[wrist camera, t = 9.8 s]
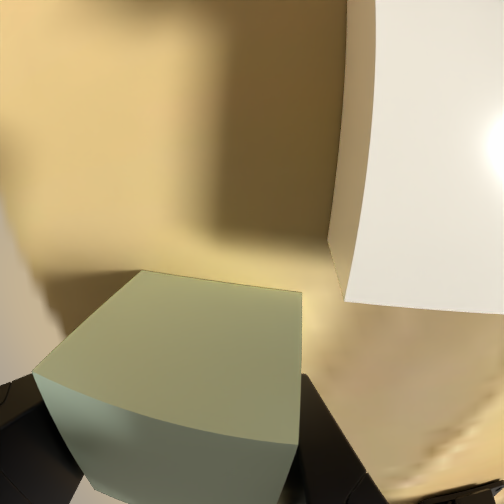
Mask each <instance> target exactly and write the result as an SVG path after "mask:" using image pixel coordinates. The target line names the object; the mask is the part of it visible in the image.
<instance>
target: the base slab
mask: <svg viewBox="0 0 504 504" xmlns="http://www.w3.org/2000/svg"><path fill="white" fill-rule="evenodd" d="M327 241H328V245H329V248H330V252H331V255H332V259H333V262H334V266H335V269H336V273H337V277H338V280H339V284H340V288H341V292H342V296H343V299H344V301H345V302H355V303H365V304H375V305H385V306H396V307H407V308H419V309H431V310H444V311H458V312H473V313H490V314H504V0H347V37H346V63H345V81H344V96H343V109H342V122H341V133H340V143H339V153H338V162H337V171H336V179H335V188H334V195H333V203H332V210H331V218H330V225H329V231H328V238H327Z"/></svg>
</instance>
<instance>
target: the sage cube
mask: <svg viewBox="0 0 504 504" xmlns="http://www.w3.org/2000/svg"><path fill="white" fill-rule="evenodd" d="M301 360H302V293H301V292H293V291H285V290H277V289H269V288H261V287H254V286H246V285H239V284H231V283H224V282H217V281H210V280H203V279H196V278H189V277H183V276H176V275H170V274H163V273H157V272H151V271H144V270H142V271H140V272H139V273H138V274H137V275H136V276H135V277H133V278H132V279H131V280H130V281H129V282H128V283H126V284H125V285H124V286H123V287H122V288H121V289H120V290H118V291H117V292H116V293H115V294H114V295H113V296H112V297H110V298H109V299H108V300H107V301H106V302H105V303H104V304H103V305H101V306H100V307H99V308H98V309H97V310H96V311H95V312H94V313H93V314H91V315H90V316H89V317H88V318H87V319H86V320H85V321H84V322H83V323H82V324H80V325H79V326H78V327H77V328H76V329H75V330H74V331H73V332H72V333H71V334H70V335H69V336H68V337H66V338H65V339H64V340H63V341H62V342H61V343H60V344H59V345H58V346H57V347H56V348H55V349H54V350H53V351H52V352H51V353H50V354H49V355H48V356H46V357H45V358H44V359H43V360H42V361H41V362H40V363H39V364H38V365H37V366H36V367H35V368H34V369H33V370H32V374H33V376H34V379H35V381H36V383H37V386H38V388H39V390H40V393H41V395H42V397H43V399H44V402H45V404H46V406H47V408H48V410H49V412H50V414H51V416H52V418H53V420H54V422H55V424H56V426H57V428H58V430H59V432H60V434H61V436H62V438H63V439H64V441H65V443H66V445H67V447H68V448H69V450H70V452H71V454H72V455H73V457H74V459H75V460H76V462H77V464H78V465H79V467H80V468H81V470H82V471H83V473H84V475H85V476H86V478H87V479H88V481H89V482H90V484H91V485H92V487H93V488H94V490H97V491H99V492H101V493H103V494H106V495H108V496H110V497H113V498H115V499H118V500H121V501H123V502H125V503H128V504H277V502H278V499H279V497H280V494H281V491H282V489H283V486H284V483H285V481H286V478H287V475H288V473H289V470H290V467H291V464H292V461H293V459H294V456H295V453H296V450H297V447H298V440H299V420H300V396H301Z"/></svg>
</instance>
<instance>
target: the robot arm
mask: <svg viewBox="0 0 504 504" xmlns="http://www.w3.org/2000/svg"><path fill="white" fill-rule="evenodd" d="M83 476H84V473H83V471H82V470H81V468H80V467H79V465H78V464H77V462H76V460H75V459H74V457H73V455H72V454H71V452H70V450H69V448H68V447H67V445H66V443H65V441H64V439H63V438H62V436H61V434H60V432H59V430H58V428H57V426H56V424H55V422H54V420H53V418H52V416H51V414H50V412H49V410H48V408H47V406H46V404H45V402H44V399H43V397H42V395H41V393H40V390H39V388H38V386H37V383H36V381H35V379H34V376H33V374H29V375H26V376H24V377H22V378H19V379H17V380H14V381H12V383H11V382H9V383H6V384H3V385H1V386H0V504H69V503H70V501H71V499H72V497H73V495H74V493H75V491H76V489H77V487H78V485H79V483H80V481H81V480H82V477H83ZM503 488H504V480H501V481H498V482H495V483H492V484H488V485H485V486H482V487H478V488H474V489H471V490H467V491H463V492H459V493H454V494H450V495H445V496H440V497H435V498H430V499H426V500H424V501H422V502H420V503H419V504H496V503H495V500H494V496H495V495H496V494H497V493H498V492H499V491H500V490H502V489H503ZM277 504H389V503H388V502H387V500H386V499H385V498H384V496H383V495H382V493H381V492H380V490H379V489H378V487H377V486H376V485H375V483H374V481H373V480H372V478H371V477H370V475H369V473H366V469H365V467H364V466H363V464H362V463H361V461H360V459H359V458H358V456H357V455H356V453H355V451H354V450H353V448H352V447H351V445H350V443H349V442H348V440H347V439H346V437H345V435H344V434H343V432H342V431H341V429H340V427H339V426H338V424H337V423H336V421H335V419H334V418H333V416H332V415H331V413H330V411H329V410H328V408H327V406H326V405H325V403H324V402H323V400H322V398H321V397H320V395H319V393H318V392H317V390H316V389H315V387H314V385H313V384H312V382H311V380H310V379H309V377H308V376H307V375H306V374H301V396H300V420H299V440H298V447H297V450H296V453H295V456H294V459H293V461H292V464H291V467H290V470H289V473H288V475H287V478H286V481H285V483H284V486H283V489H282V491H281V494H280V497H279V499H278V502H277Z"/></svg>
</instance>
